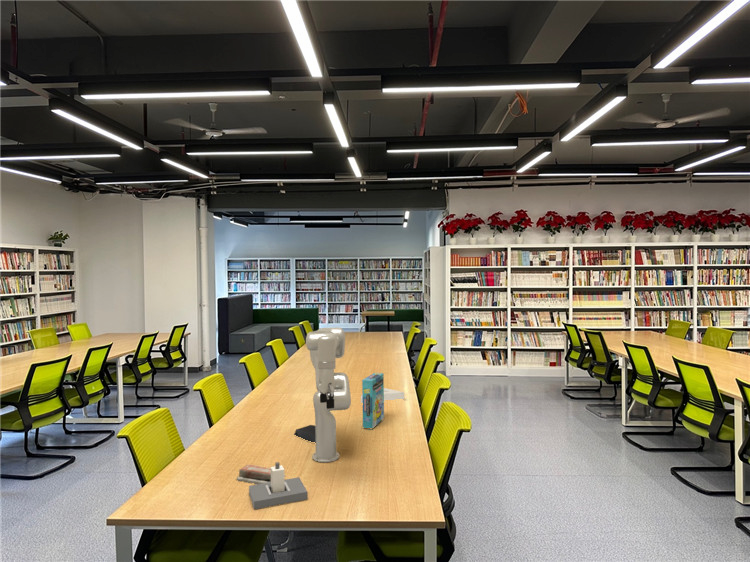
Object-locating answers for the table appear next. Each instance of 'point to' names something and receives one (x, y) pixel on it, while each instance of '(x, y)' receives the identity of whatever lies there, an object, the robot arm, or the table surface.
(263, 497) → the plate
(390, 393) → the triangle block
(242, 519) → the table surface
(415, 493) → the table surface
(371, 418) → the game box
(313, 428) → the black angular slab
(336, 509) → the table surface
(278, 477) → the charger plug
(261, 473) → the packaged product
